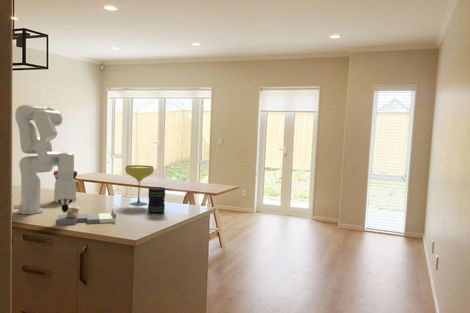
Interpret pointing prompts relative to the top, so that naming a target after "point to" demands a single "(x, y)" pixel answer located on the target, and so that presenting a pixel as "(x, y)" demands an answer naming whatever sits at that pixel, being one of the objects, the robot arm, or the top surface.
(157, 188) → the storage jar
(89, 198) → the top surface
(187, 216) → the top surface
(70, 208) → the maple block
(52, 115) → the robot arm
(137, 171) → the cocktail glass
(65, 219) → the trap board
